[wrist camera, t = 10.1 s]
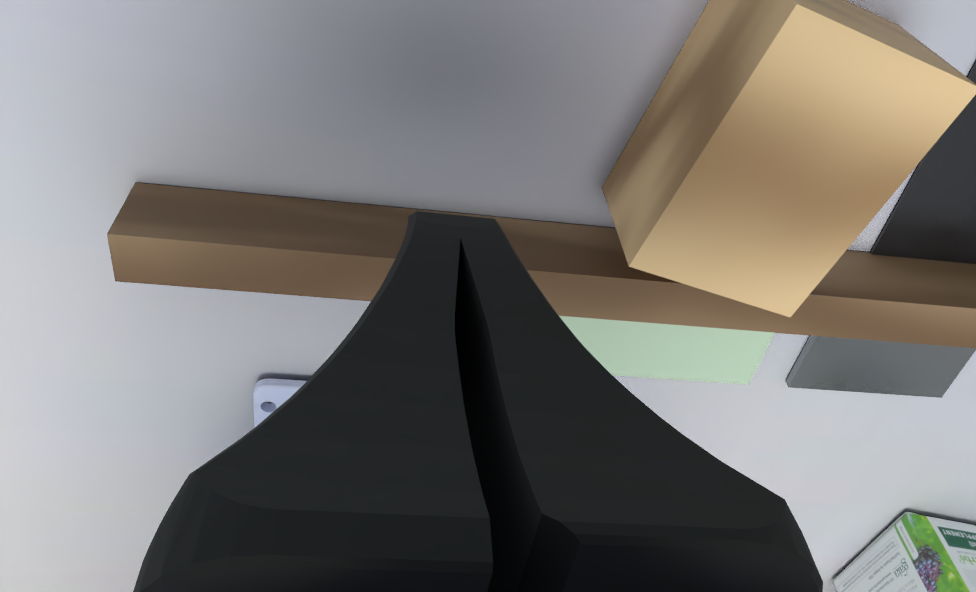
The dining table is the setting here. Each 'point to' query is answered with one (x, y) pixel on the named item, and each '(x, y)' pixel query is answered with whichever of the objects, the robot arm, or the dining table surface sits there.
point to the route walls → (541, 248)
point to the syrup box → (915, 558)
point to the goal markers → (671, 349)
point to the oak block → (776, 145)
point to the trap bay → (921, 235)
